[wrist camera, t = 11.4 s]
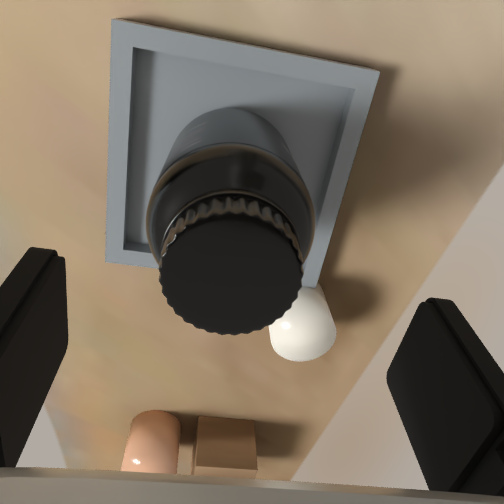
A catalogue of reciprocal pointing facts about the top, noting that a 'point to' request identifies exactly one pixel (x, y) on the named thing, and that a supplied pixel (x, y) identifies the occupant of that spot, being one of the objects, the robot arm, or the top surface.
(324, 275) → the top surface
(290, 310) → the white egg
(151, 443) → the peach rounded dome
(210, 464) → the walnut block
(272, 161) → the supplement bottle
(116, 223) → the tray
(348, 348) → the top surface
